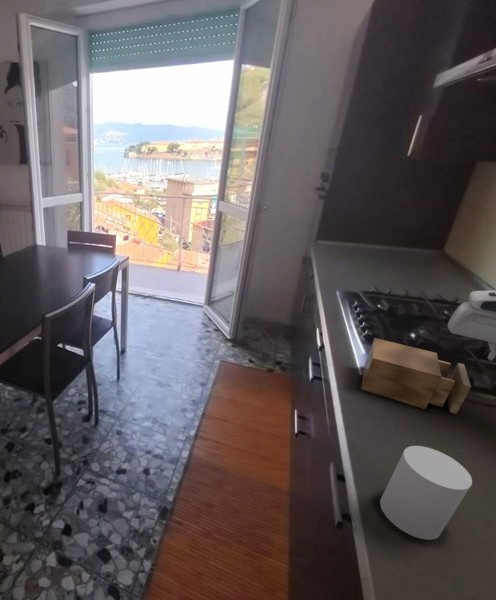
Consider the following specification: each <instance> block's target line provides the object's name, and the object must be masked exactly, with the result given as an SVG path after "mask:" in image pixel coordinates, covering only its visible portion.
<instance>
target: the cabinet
mask: <svg viewBox="0 0 496 600" xmlns="http://www.w3.org/2000/svg"><path fill="white" fill-rule="evenodd" d="M438 360H439V357H438V353H437V352H434V351H429V350H426V349H422V348H418V347H414V346H409V345H406V344H401V343H397V342H393V341H389V340H386V339H385V340H384V339H381V338H378V337H377V338H376V337H374V338H373V341H372V344H371V346H370V350H369V352H368V355H367V357H366V359H365V363H364V366H363V372H362V382H361V388H360V389H361V390H363V391H366V392H368V393H372V394H375V395H379V396H382V397H385V398H388V399H392V400H395V401H397V402H401V403H404V404H407V405H410V406H414V407H417V408H420V409H422V410H423V409H424V410H426V409H427V407H428V405H429V404H430V403H429V401H430V399H431V397H432V395H433V393H434V391H435V389H436V387H437V385H438V383H439V381H440V379H441V372H440V367H439V362H438Z"/></svg>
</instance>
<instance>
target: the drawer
mask: <svg viewBox="0 0 496 600" xmlns="http://www.w3.org/2000/svg"><path fill="white" fill-rule="evenodd" d="M438 362H439V367H440V372H441V379H440V381H439V383H438V385H437V387H436V389H435V391H434V393H433V395H432V397H431V399H430V401H429V403H428V404H431V405H434V406H438V407H441V408H442V407H443V406H444V405H445V402H447V405H448V410H449V413H452V414H455V415H457V414H458V412H459V411H460V408H461V407H462V405H463V403H464V401H465V400H466V398H467V396H468V395H469V392H470V390H471V388H472V385H471V382H470V379H469V376H468V372H467V369H466V366H465V364H464V363H461V362H457V363H456V365H455V367H454V369H453V370H452V373H451V375H450V377H449V378H448V377H446V375H447V373H448V371H449V369H450V367H451V365H452V363H451V362H448V361H444V360H440V359H438ZM446 400H447V401H446Z"/></svg>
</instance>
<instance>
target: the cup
mask: <svg viewBox="0 0 496 600" xmlns="http://www.w3.org/2000/svg"><path fill="white" fill-rule="evenodd" d="M472 485H473V478H472V476H471V474H470V473H469V471H468V470H467V469H466V468H465V467H464V466H463V465H462V464H460V463H459V461H458V460H455V459H454V458H453V457H451V456H449V455H447V454H446V453H444V452H441V451H439V450H437V449H435V448H432V447H427V446H422V445H409V446H407V447H406V448H405V449H404V450H403V452H402V454H401V457H400V459H399V461H398V462H397V465H396V467H395V469H394V470H393V473H392V475H391V477H390V479H389V481H388V483H387V485H386V487H385V489H384V492H383V493H382V495H381V497H380V501H379V505H380V508H381V511H382V513H383V514H384V516H385V517H386V518H387V519H388V521H389V522H391V523H392V524H393V525H394V526H395V527H397V528H398V529H399V530H401V531H403V532H404V533H406V534H408V535H409V536H412V537H414V538H416V539H420V540H427V541H432V540H436V539H438V538H439V537H440V536H441V534H442V533H443V531H444V529H445V527H446V526H447V525H448V523H449V521H450V520H451V518H452V516H453V515H454V513H455V512H456V510H457V509H458V507H459V506H460V504H461V503H462V501H463V499H464V498H465V496H466V495H467V493H468V491H469V489H471V487H472Z"/></svg>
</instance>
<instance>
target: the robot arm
mask: <svg viewBox="0 0 496 600" xmlns="http://www.w3.org/2000/svg"><path fill="white" fill-rule="evenodd" d="M447 328H448V331H449V332H450V333H451V334H452V335H458V336H461V337H462V336H463V337H466V338H471V339H475V340H479V341H484V342H487V344H488V347H489V351H490V352H489V353H488V355H487V360H488V361H490V362H495V363H496V290H495V289H494V290H491V289H490V290H472V291H471V292H470V293H469V295H468V301H464V302H462V303H461V304H459V305H458V307H457V308H456V309H455V310H454V312H453V313H452V315H451V316H450V318H449V319H448V322H447Z"/></svg>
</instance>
